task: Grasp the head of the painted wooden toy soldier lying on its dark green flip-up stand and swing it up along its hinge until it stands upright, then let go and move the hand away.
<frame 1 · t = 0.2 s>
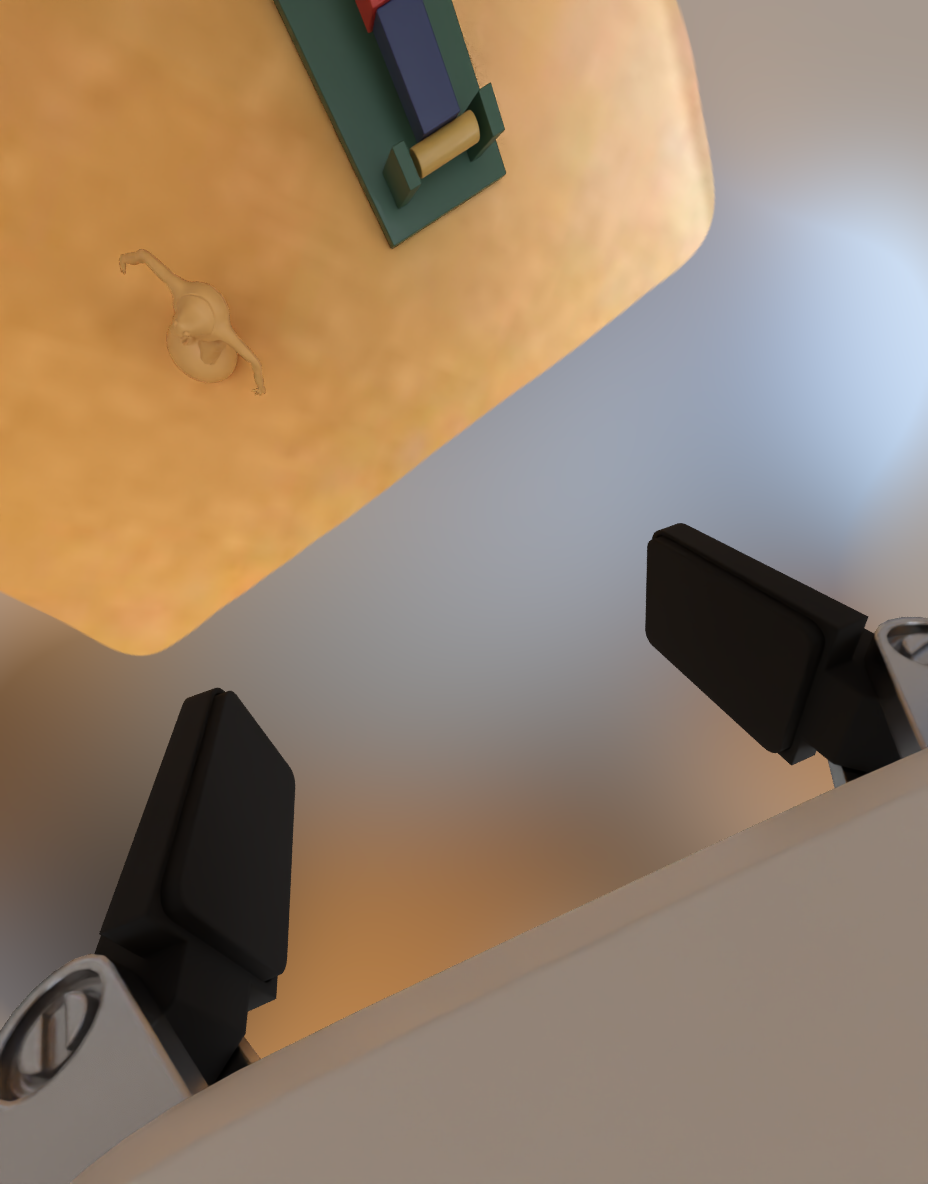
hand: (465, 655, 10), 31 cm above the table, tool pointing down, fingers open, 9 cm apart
figurine: (219, 337, 30), on the table
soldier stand: (428, 169, 29), on the table
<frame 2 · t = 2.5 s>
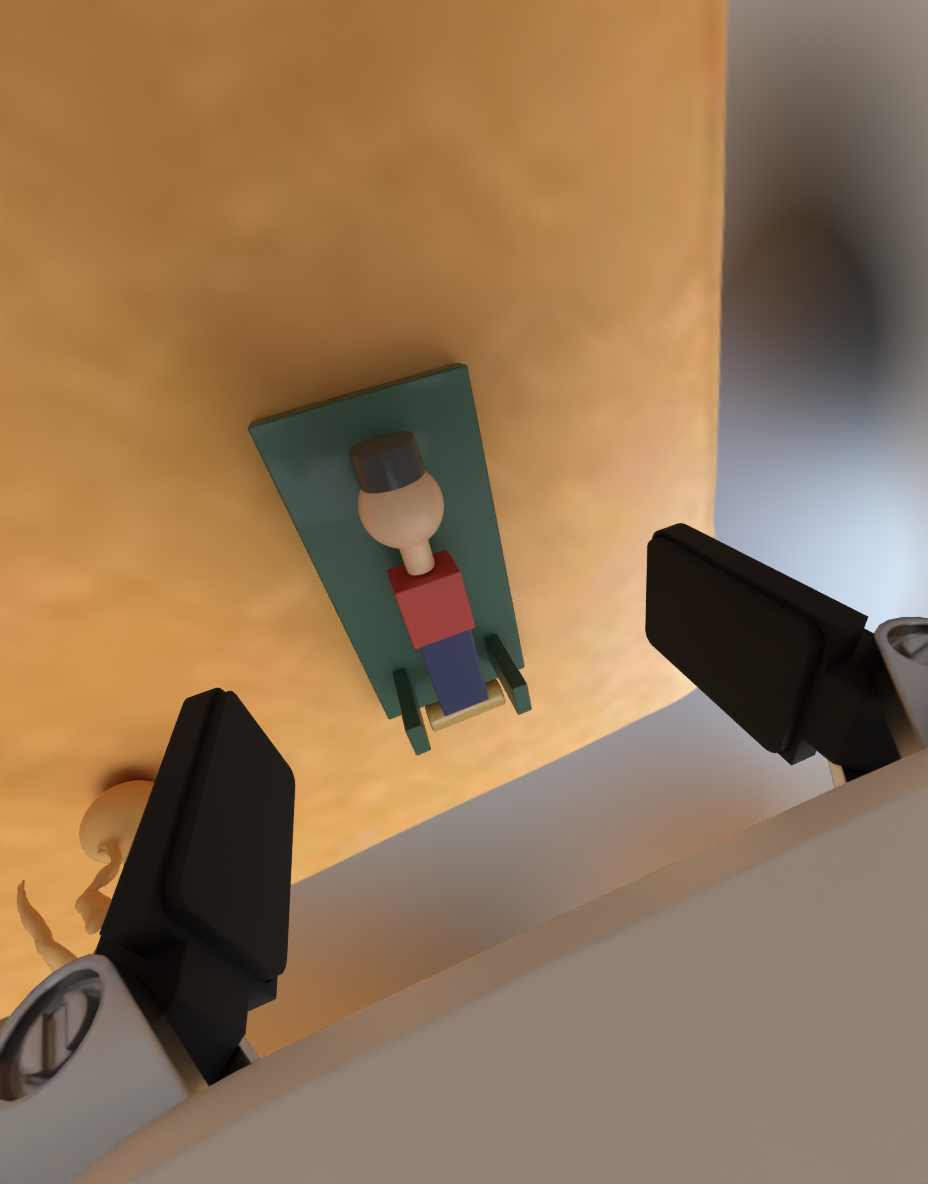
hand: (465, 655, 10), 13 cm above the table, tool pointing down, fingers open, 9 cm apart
figurine: (157, 776, 25), on the table
toy soldier: (433, 606, 19), point 4 cm above the table, hinge at 0.0°
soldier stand: (444, 652, 26), on the table
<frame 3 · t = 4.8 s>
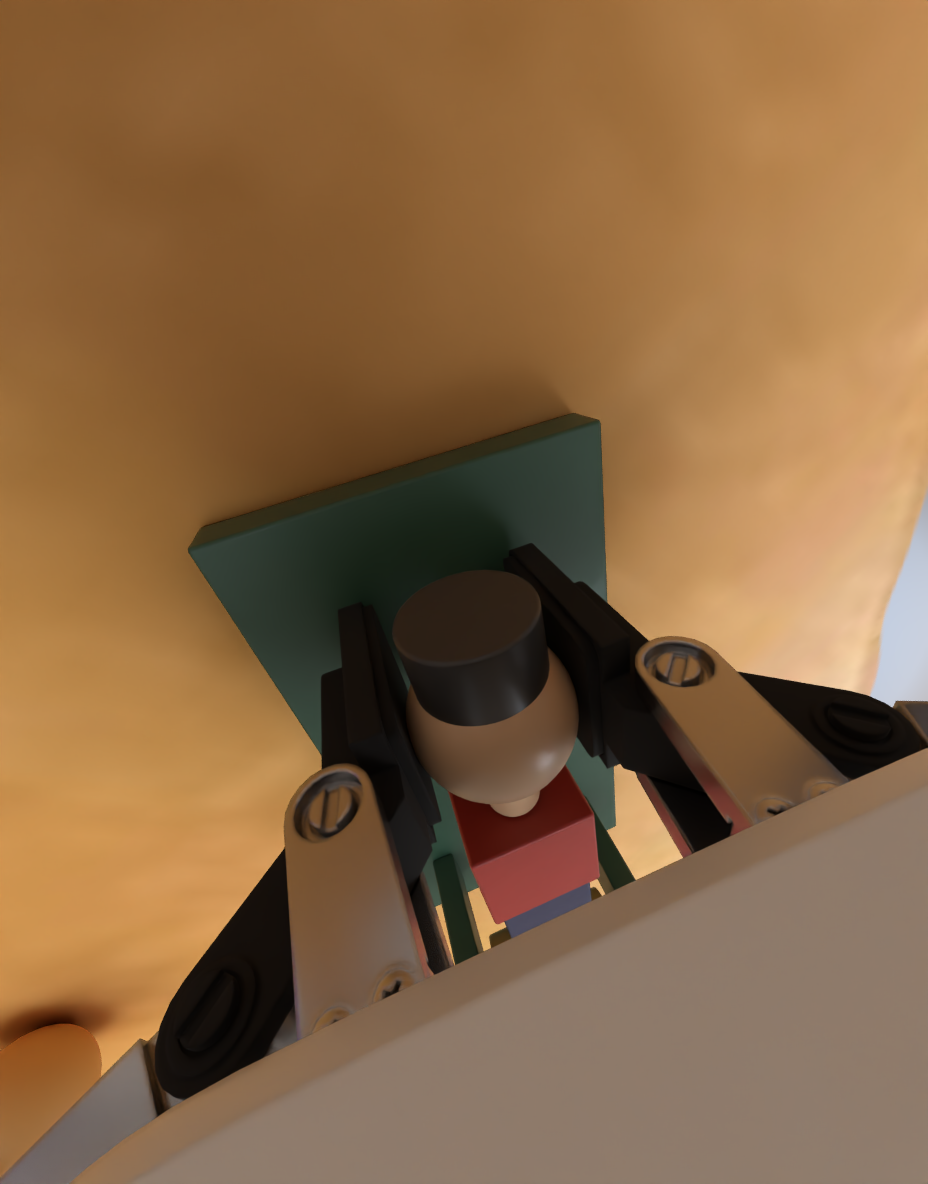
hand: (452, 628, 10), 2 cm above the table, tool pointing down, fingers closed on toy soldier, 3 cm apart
figurine: (80, 1008, 17), on the table
toy soldier: (525, 837, 11), point 4 cm above the table, hinge at 0.0°, touching gripper
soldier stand: (503, 812, 18), on the table
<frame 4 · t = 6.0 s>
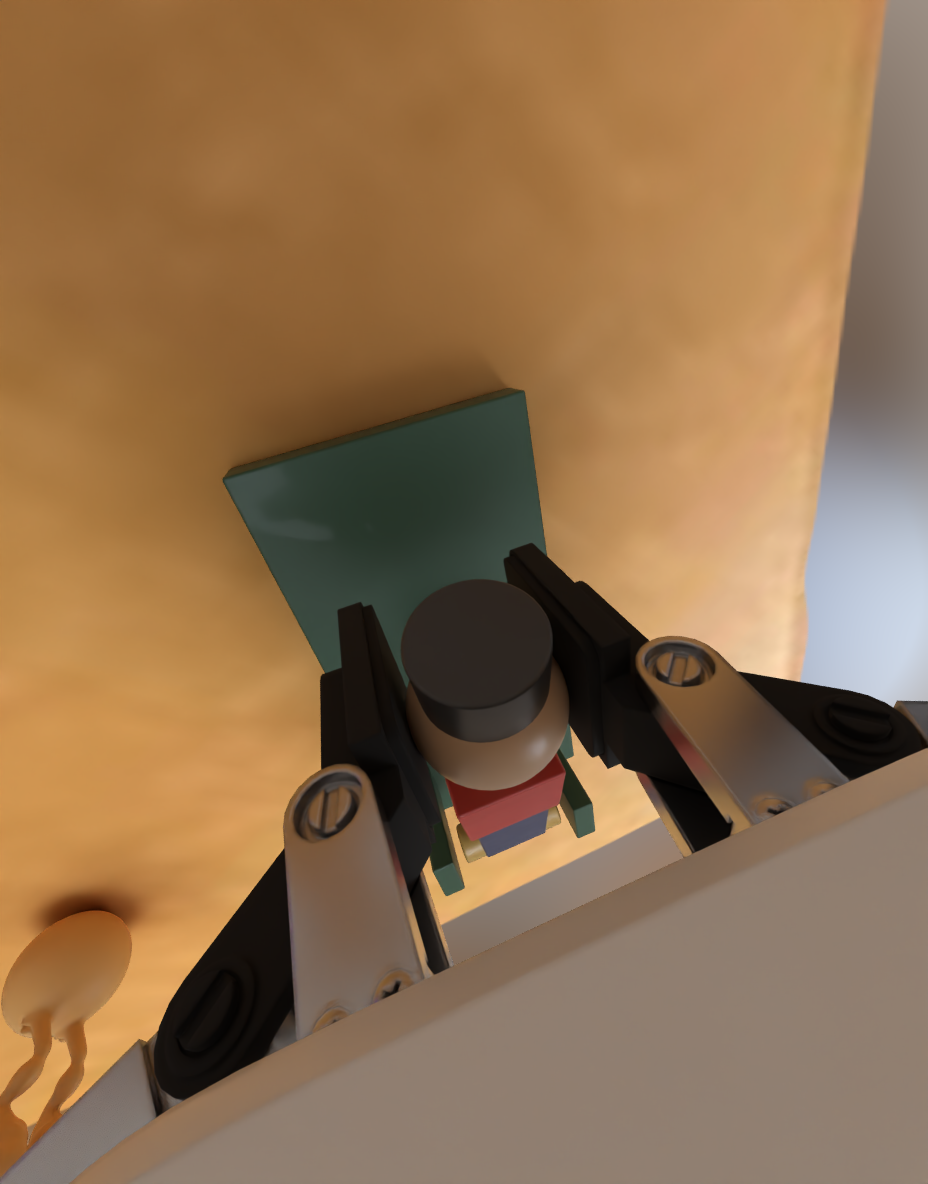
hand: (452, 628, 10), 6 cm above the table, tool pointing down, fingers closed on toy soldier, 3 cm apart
figurine: (114, 901, 20), on the table
toy soldier: (499, 775, 12), point 7 cm above the table, hinge at 18.9°, touching gripper
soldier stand: (475, 739, 21), on the table
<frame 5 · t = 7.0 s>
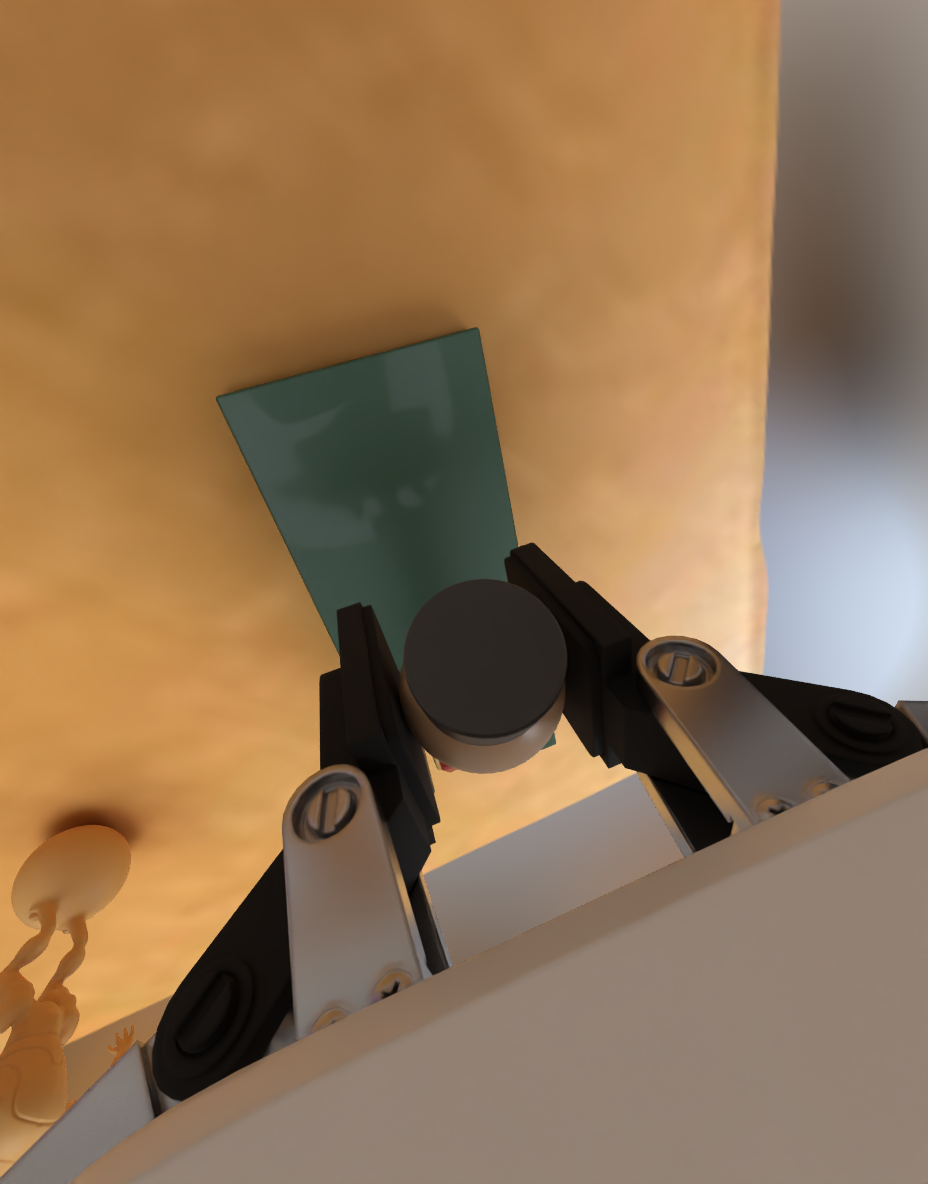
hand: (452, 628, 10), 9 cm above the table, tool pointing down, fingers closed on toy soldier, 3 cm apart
figurine: (115, 820, 21), on the table
toy soldier: (478, 717, 13), point 8 cm above the table, hinge at 37.3°, touching gripper
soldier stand: (451, 675, 23), on the table
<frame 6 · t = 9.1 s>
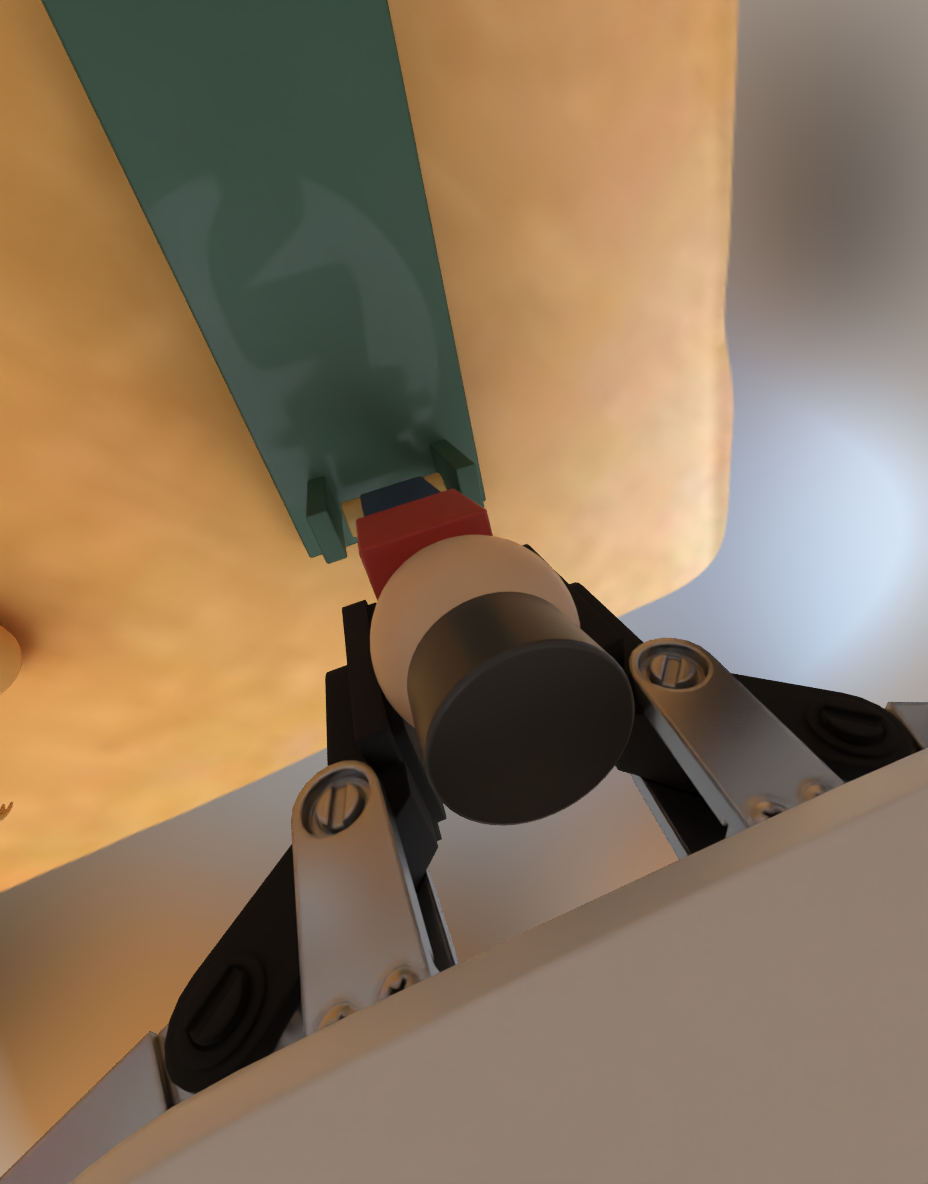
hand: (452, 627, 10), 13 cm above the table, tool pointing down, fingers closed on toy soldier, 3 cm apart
figurine: (5, 621, 19), on the table
toy soldier: (423, 551, 11), point 11 cm above the table, hinge at 81.0°, touching gripper
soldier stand: (381, 473, 21), on the table
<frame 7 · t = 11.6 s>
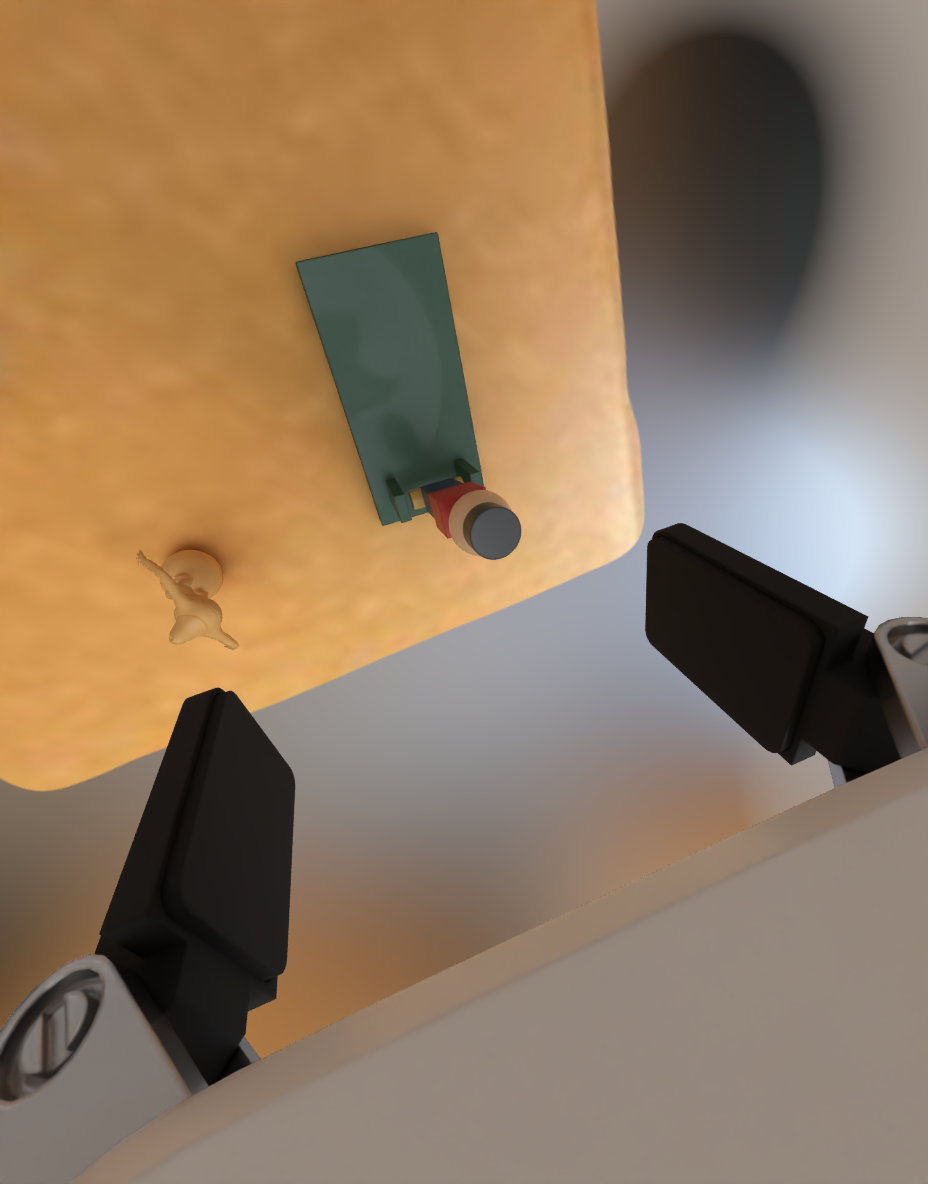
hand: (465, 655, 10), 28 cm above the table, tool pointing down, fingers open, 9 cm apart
figurine: (210, 558, 34), on the table
toy soldier: (458, 507, 26), point 11 cm above the table, hinge at 81.1°
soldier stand: (424, 477, 35), on the table
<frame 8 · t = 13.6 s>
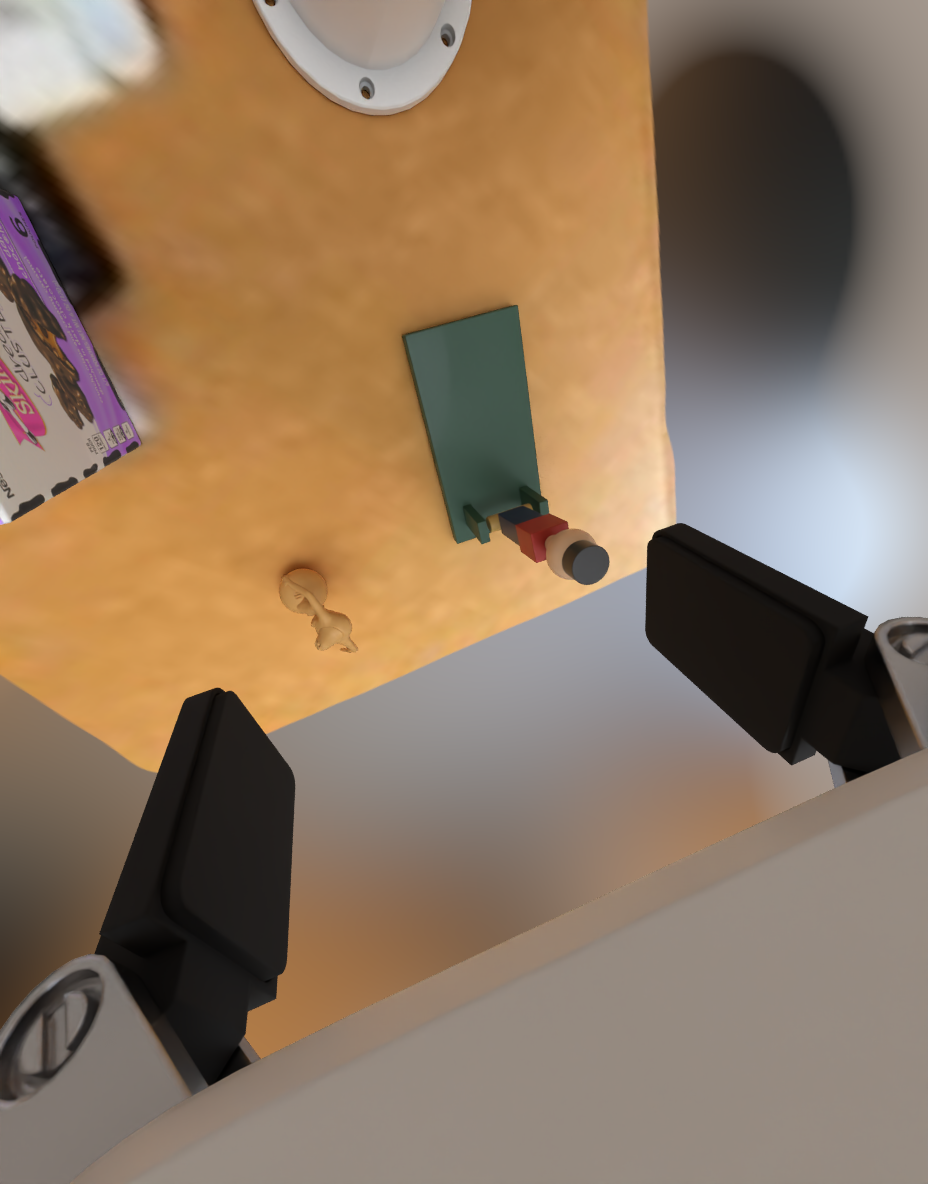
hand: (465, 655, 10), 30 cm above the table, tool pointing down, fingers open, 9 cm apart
candy box: (42, 343, 27), on the table
figurine: (313, 574, 40), on the table
toy soldier: (540, 535, 32), point 11 cm above the table, hinge at 81.1°
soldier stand: (492, 501, 41), on the table
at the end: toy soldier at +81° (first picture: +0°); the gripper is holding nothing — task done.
